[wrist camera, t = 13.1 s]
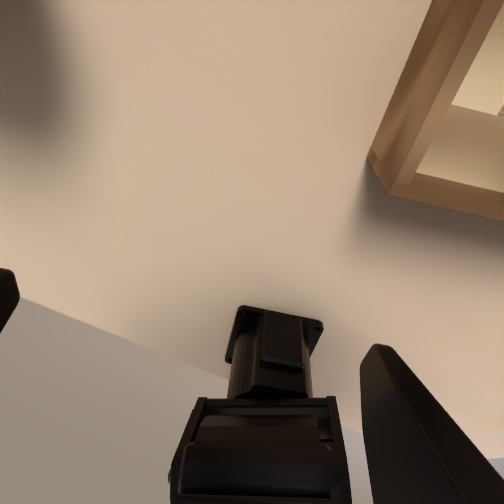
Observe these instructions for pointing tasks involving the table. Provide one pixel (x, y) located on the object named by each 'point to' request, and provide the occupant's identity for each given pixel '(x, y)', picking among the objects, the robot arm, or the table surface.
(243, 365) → the robot arm
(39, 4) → the table surface
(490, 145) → the walnut box
